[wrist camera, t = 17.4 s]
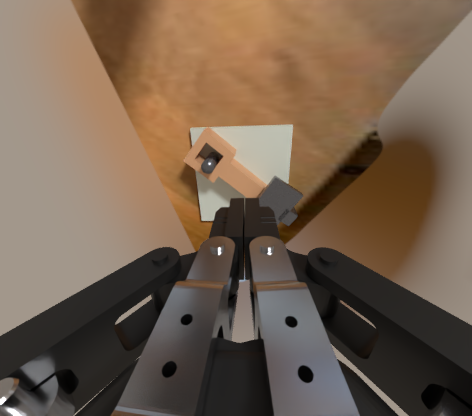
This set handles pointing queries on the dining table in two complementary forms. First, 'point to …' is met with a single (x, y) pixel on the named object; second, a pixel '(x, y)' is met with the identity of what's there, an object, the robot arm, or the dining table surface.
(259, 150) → the board
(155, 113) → the dining table surface
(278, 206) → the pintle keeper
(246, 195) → the link
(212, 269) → the robot arm
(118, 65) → the dining table surface
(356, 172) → the dining table surface
